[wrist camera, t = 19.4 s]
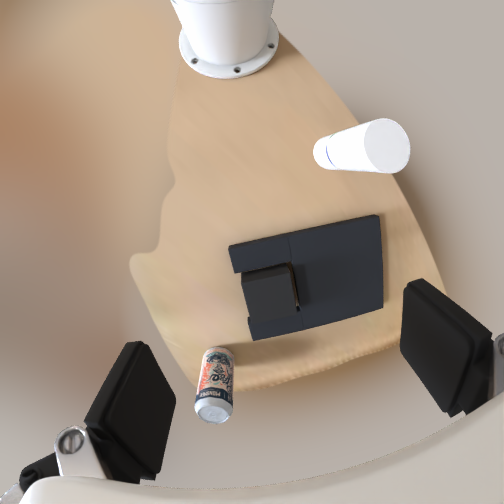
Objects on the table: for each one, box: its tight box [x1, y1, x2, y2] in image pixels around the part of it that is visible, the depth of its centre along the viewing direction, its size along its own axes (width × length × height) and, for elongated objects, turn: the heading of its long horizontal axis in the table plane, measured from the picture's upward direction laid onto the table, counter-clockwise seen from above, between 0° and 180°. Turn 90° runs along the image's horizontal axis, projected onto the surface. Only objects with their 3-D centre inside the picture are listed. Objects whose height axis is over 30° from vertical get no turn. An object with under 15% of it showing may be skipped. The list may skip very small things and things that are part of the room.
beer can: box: [195, 347, 234, 424], centre depth 34 cm, size 5×5×12 cm
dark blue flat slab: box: [228, 215, 383, 341], centre depth 36 cm, size 14×20×2 cm
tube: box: [314, 118, 410, 173], centre depth 25 cm, size 4×4×15 cm
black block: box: [241, 263, 297, 324], centre depth 35 cm, size 6×6×4 cm
